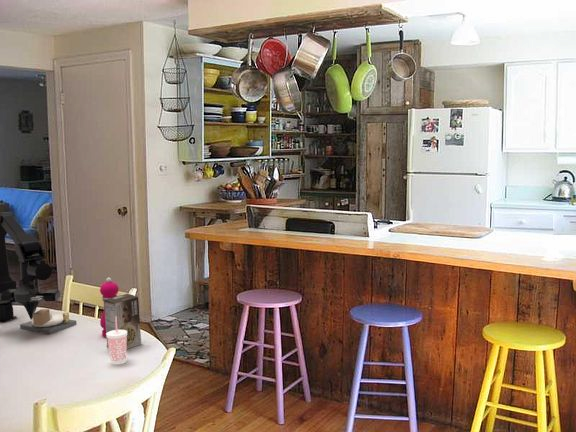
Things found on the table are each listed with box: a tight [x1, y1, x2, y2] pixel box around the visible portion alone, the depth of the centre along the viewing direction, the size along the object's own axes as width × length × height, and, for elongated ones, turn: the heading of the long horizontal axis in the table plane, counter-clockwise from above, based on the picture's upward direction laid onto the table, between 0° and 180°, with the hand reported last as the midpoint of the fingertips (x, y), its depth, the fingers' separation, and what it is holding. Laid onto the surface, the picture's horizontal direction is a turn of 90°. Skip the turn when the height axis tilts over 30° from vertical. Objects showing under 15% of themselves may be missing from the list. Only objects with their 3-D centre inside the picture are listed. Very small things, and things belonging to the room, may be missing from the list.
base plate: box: [19, 318, 77, 335], centre depth 217 cm, size 15×12×2 cm
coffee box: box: [103, 293, 142, 350], centre depth 194 cm, size 9×6×16 cm
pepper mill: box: [99, 277, 120, 338], centre depth 206 cm, size 7×7×20 cm
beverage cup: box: [105, 316, 128, 365], centre depth 181 cm, size 6×6×14 cm
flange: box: [30, 308, 63, 327], centre depth 216 cm, size 11×13×5 cm
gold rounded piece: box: [62, 312, 70, 324], centre depth 216 cm, size 2×2×4 cm
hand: (31, 319), depth 211 cm, fingers closed
